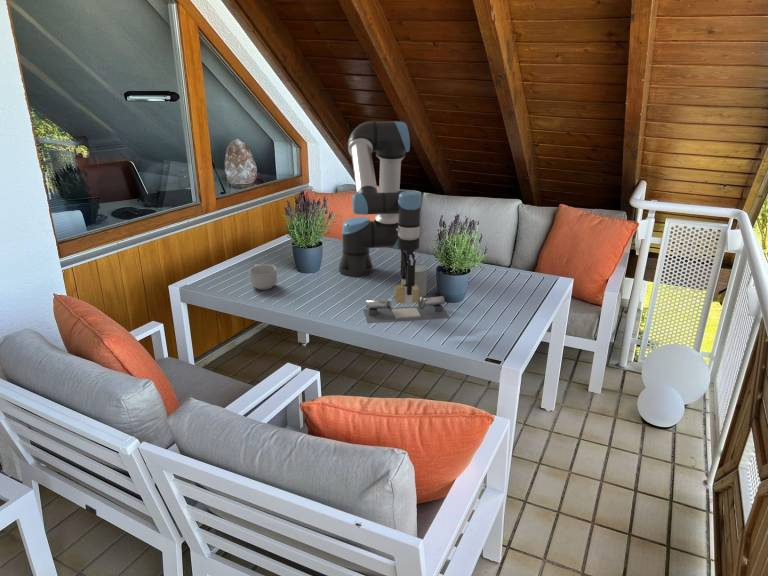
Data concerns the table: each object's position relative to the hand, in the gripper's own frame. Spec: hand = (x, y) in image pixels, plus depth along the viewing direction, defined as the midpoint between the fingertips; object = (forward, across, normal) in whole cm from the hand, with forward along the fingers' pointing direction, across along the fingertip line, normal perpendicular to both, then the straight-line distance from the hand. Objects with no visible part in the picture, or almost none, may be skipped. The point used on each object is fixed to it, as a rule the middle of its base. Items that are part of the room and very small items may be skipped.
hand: (406, 299), depth 208 cm
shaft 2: (+6, -2, +10) cm, 12 cm away
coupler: (0, 0, 0) cm, 1 cm away
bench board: (+7, 0, 0) cm, 7 cm away
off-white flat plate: (+6, 0, 0) cm, 6 cm away
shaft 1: (+6, -2, -10) cm, 12 cm away
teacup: (+7, -38, -52) cm, 65 cm away
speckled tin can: (+7, -18, +7) cm, 21 cm away
